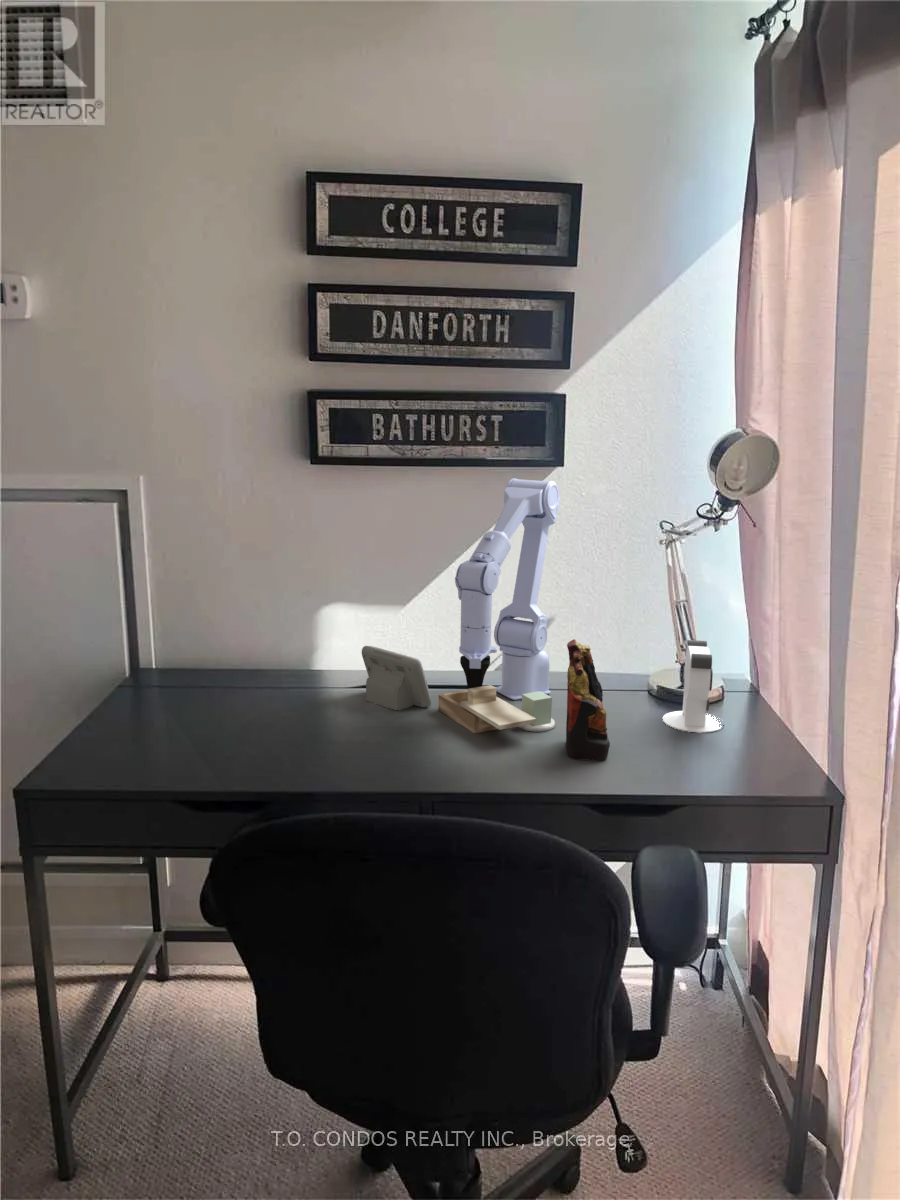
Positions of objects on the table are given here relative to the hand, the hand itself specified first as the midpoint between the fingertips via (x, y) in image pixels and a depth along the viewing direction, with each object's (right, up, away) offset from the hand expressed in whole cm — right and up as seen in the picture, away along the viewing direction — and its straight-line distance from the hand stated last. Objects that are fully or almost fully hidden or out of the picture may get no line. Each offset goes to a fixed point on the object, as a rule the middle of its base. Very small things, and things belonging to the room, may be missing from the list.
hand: (474, 694), depth 171 cm
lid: (+4, -3, -7) cm, 8 cm away
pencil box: (0, -5, +1) cm, 5 cm away
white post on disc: (+42, -6, 0) cm, 42 cm away
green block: (+11, -5, -2) cm, 13 cm away
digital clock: (-16, -3, +10) cm, 19 cm away
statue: (+19, -8, -13) cm, 25 cm away
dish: (+12, -6, -2) cm, 13 cm away
